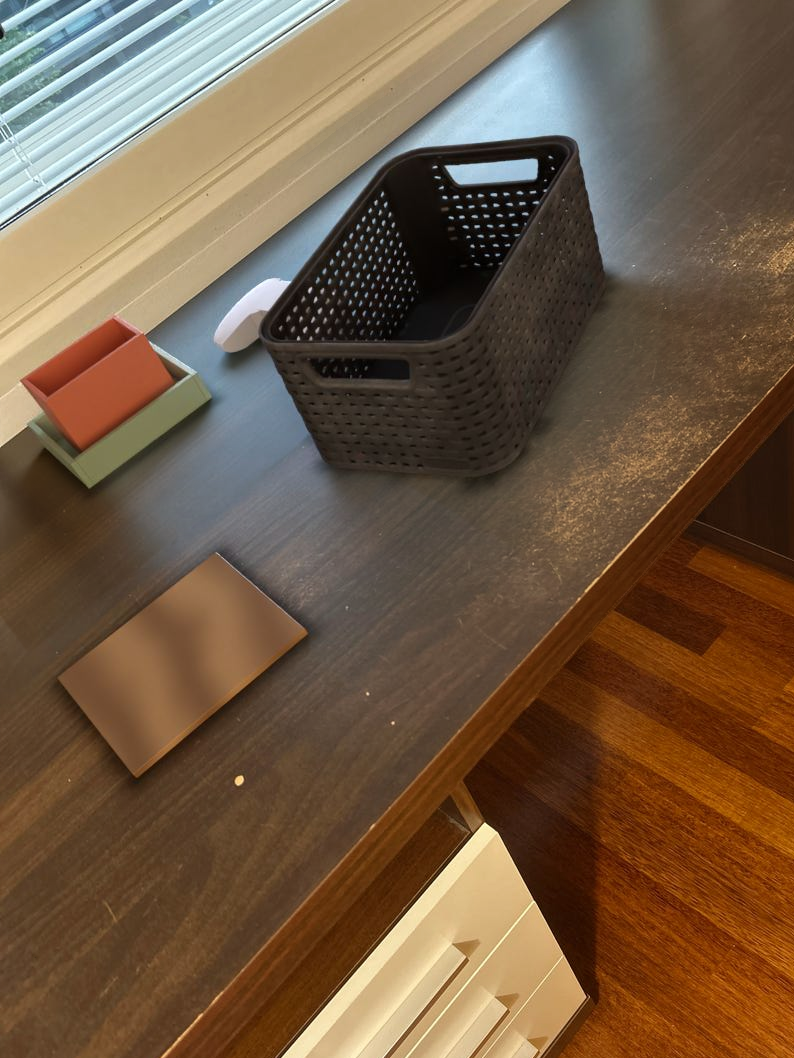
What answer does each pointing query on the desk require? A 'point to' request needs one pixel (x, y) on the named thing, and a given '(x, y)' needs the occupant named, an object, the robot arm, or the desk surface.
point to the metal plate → (179, 661)
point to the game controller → (255, 316)
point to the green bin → (128, 426)
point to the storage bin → (441, 311)
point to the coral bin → (98, 382)
